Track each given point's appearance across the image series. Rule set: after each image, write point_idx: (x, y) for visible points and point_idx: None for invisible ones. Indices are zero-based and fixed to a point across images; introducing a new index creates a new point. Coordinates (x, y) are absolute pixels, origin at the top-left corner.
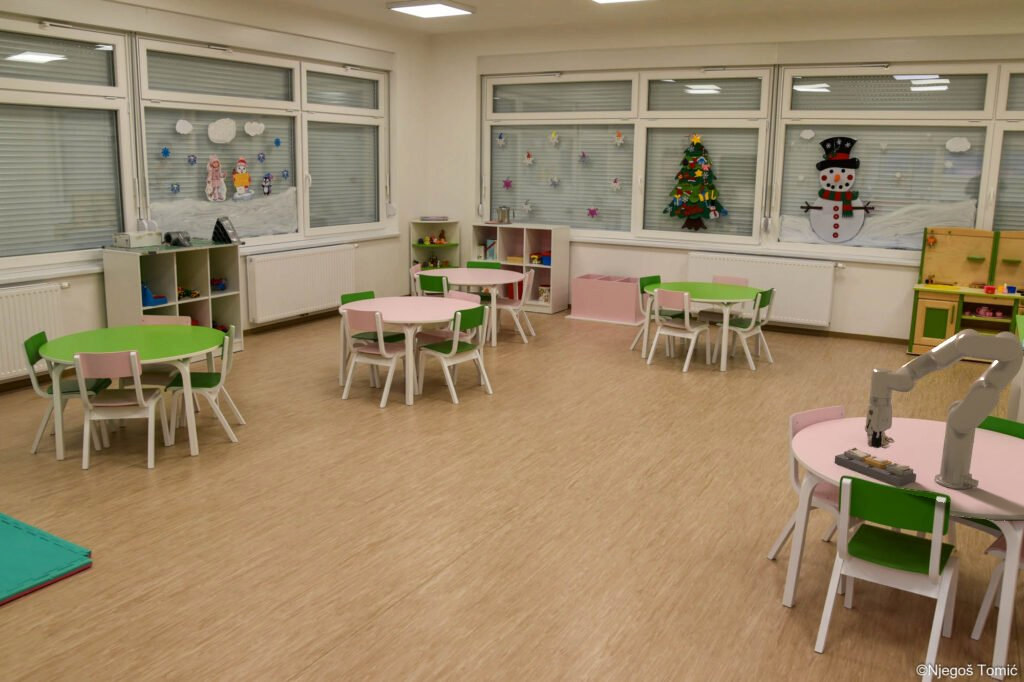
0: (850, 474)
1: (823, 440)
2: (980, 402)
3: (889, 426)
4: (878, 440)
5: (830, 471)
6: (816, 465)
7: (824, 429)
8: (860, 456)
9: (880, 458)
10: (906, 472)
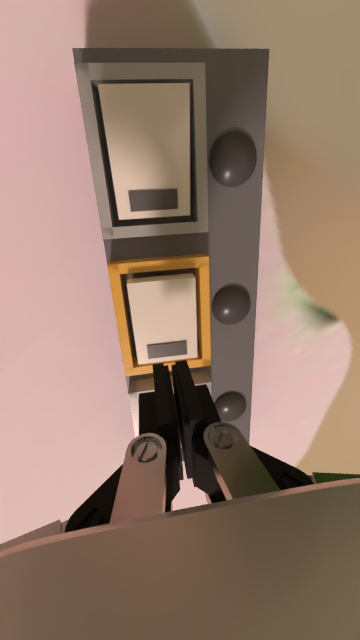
0: (292, 320)
1: None
2: None
3: (1, 618)
4: (200, 404)
5: (324, 370)
6: (310, 425)
7: None
8: None
9: (146, 322)
10: (167, 66)
